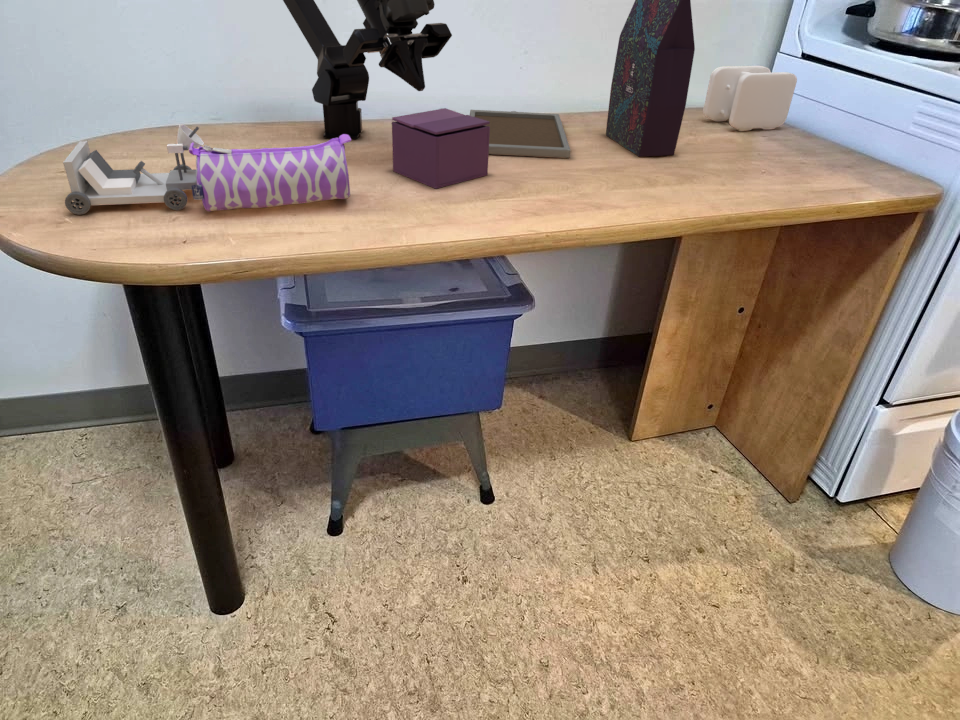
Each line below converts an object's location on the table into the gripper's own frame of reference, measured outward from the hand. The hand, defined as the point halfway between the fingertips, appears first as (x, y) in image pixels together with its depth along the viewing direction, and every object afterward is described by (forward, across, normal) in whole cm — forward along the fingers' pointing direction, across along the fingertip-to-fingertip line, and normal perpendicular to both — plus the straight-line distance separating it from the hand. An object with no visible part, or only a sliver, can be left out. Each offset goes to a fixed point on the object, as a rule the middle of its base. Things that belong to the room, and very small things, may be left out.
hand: (422, 89), depth 111 cm
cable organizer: (+22, +77, -4) cm, 80 cm away
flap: (+4, 0, +2) cm, 5 cm away
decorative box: (+19, +43, -2) cm, 47 cm away
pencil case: (+10, -29, +8) cm, 31 cm away
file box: (+12, 0, +5) cm, 13 cm away
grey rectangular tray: (+6, +28, +12) cm, 31 cm away
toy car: (+1, -42, +18) cm, 46 cm away
